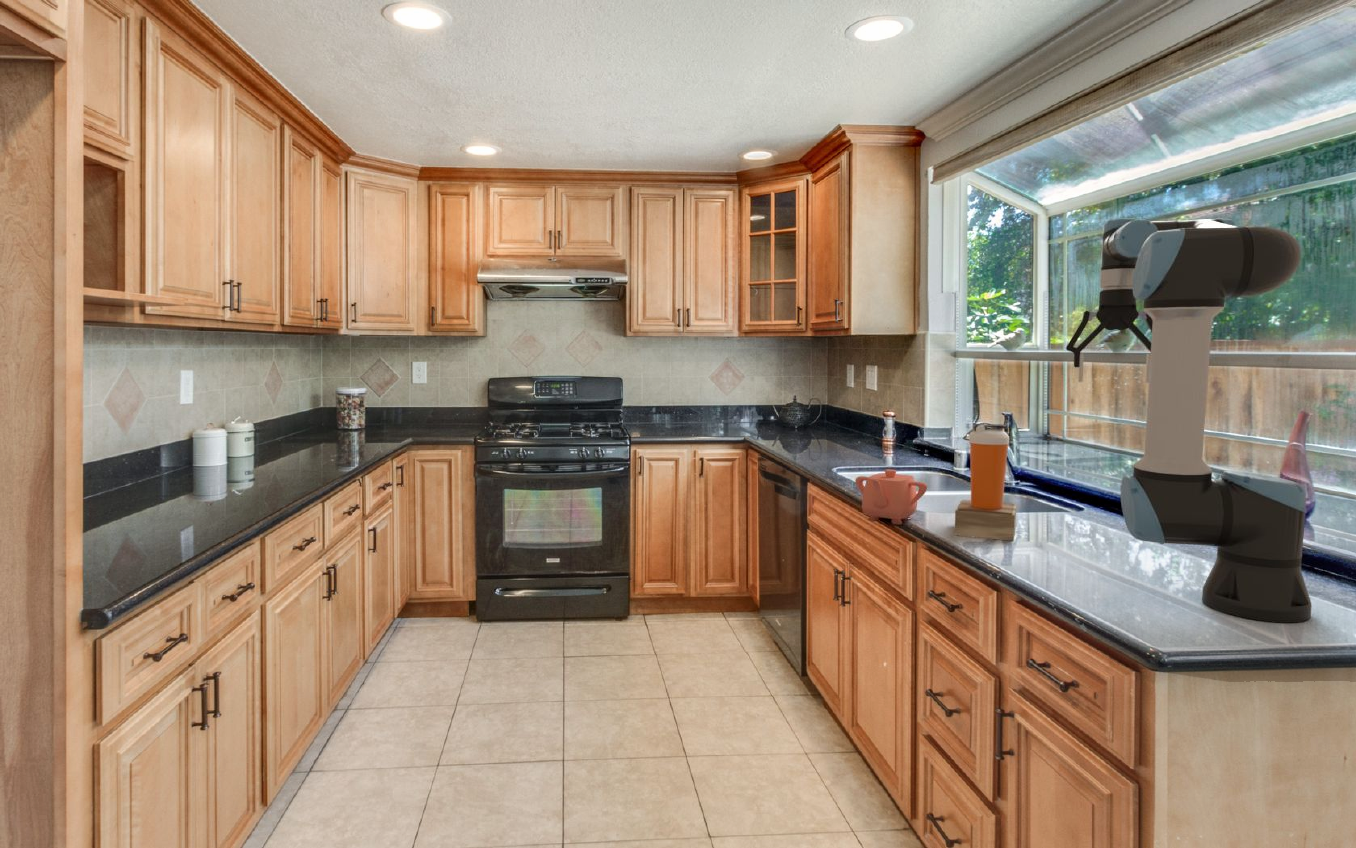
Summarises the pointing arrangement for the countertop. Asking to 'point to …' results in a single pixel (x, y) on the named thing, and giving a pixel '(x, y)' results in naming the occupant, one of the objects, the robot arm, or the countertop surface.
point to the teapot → (890, 495)
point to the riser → (985, 521)
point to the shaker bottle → (988, 465)
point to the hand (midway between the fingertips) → (1113, 382)
